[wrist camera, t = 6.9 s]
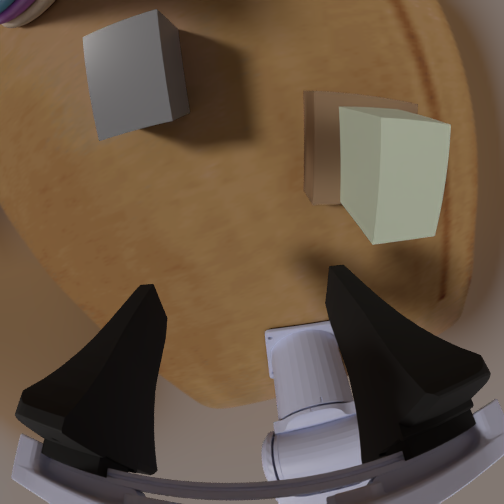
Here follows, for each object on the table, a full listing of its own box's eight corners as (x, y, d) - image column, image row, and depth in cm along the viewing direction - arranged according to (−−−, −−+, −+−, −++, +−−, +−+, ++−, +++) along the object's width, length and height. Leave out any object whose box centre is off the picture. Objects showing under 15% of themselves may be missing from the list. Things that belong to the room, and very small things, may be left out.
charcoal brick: (190, 112, 15) (172, 120, 11) (132, 126, 15) (99, 141, 11) (178, 29, 12) (157, 9, 8) (120, 46, 12) (82, 37, 8)
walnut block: (387, 187, 19) (406, 203, 16) (302, 188, 19) (312, 205, 16) (394, 99, 15) (417, 104, 13) (301, 90, 15) (314, 90, 12)
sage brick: (393, 197, 16) (434, 235, 12) (340, 201, 16) (372, 244, 12) (398, 109, 13) (450, 124, 9) (338, 106, 13) (380, 117, 9)
